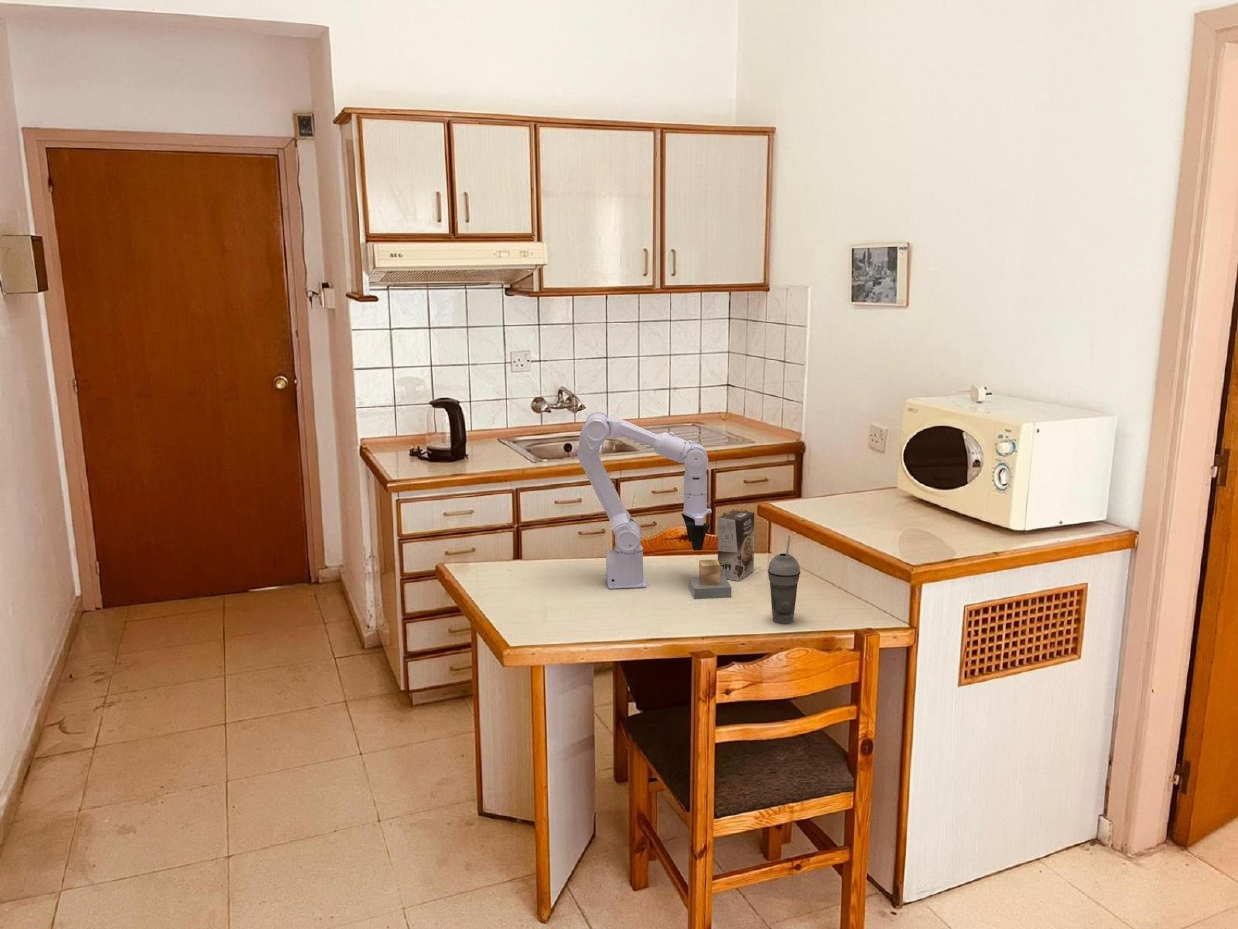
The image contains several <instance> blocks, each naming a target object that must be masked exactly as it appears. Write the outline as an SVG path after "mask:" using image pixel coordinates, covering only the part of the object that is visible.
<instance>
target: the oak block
mask: <svg viewBox="0 0 1238 929" xmlns="http://www.w3.org/2000/svg"><path fill="white" fill-rule="evenodd" d="M698 562H699V564H698V567H699V571H698V577H699V580H700V582H701V585H720V564H719V562H718V558H717V559H699V561H698Z"/></svg>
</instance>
